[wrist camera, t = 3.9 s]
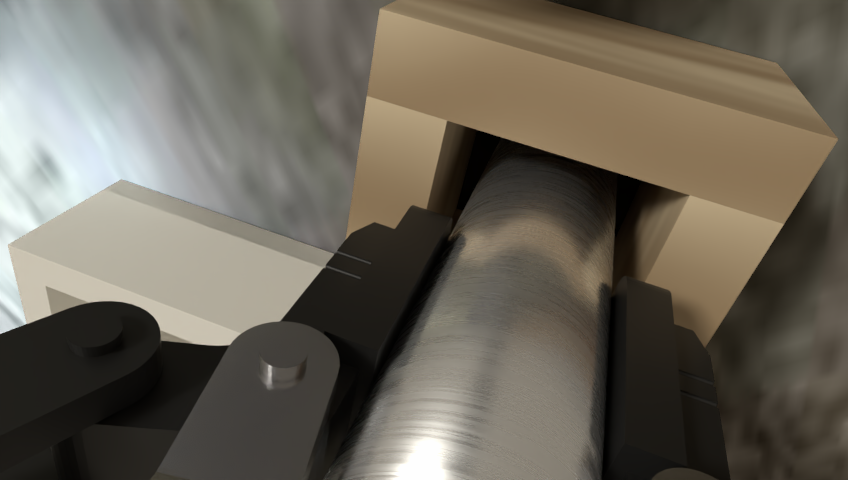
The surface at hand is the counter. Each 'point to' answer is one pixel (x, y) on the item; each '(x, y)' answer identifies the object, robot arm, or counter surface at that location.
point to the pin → (502, 337)
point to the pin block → (594, 132)
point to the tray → (163, 265)
